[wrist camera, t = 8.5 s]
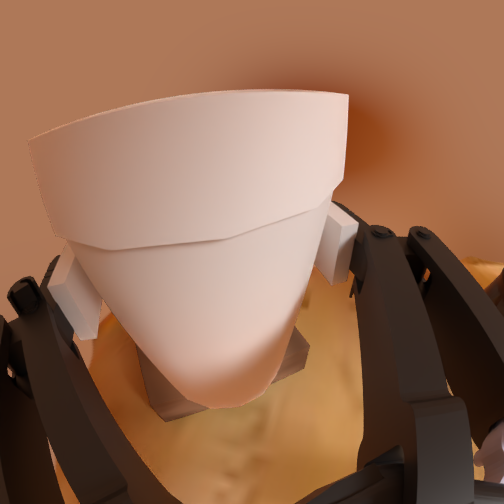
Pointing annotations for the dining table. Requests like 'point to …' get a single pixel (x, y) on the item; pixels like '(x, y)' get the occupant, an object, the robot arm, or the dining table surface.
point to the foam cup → (200, 224)
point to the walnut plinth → (177, 406)
